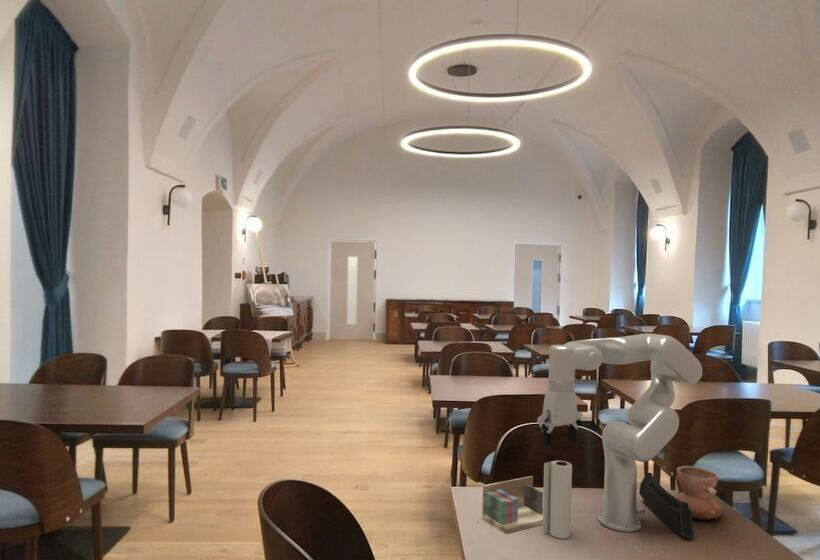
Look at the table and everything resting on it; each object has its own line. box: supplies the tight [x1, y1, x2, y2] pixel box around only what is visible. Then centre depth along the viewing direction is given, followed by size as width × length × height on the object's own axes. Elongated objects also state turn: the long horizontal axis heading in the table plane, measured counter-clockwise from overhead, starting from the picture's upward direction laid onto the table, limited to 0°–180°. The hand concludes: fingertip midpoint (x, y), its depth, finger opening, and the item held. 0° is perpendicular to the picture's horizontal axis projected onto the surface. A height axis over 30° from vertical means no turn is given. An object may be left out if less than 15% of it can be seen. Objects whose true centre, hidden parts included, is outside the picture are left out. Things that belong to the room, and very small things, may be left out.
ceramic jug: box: [673, 465, 723, 521], centre depth 184 cm, size 18×14×14 cm
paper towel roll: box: [542, 460, 573, 540], centre depth 167 cm, size 7×6×21 cm
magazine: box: [638, 472, 695, 539], centre depth 179 cm, size 17×3×30 cm
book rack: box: [481, 475, 544, 535], centre depth 176 cm, size 12×20×10 cm, turn 119°
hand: (559, 443), depth 167 cm, fingers open, 9 cm apart
